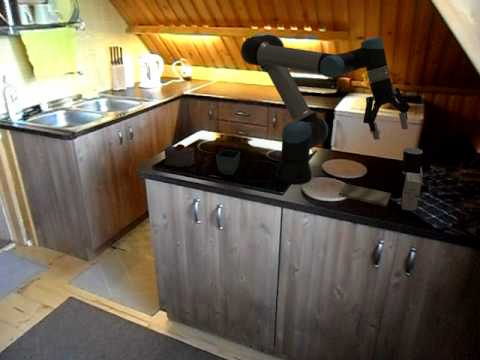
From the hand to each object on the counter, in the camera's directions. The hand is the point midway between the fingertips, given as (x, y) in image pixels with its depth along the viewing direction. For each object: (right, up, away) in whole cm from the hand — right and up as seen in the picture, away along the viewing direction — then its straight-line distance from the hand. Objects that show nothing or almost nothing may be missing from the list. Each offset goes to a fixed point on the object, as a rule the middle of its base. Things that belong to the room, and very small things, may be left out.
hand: (391, 134), depth 149 cm
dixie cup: (+17, -15, +23) cm, 33 cm away
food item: (-86, -11, +30) cm, 92 cm away
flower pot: (-64, -15, +22) cm, 69 cm away
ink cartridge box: (+4, -28, -5) cm, 28 cm away
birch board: (-10, -24, +2) cm, 26 cm away
